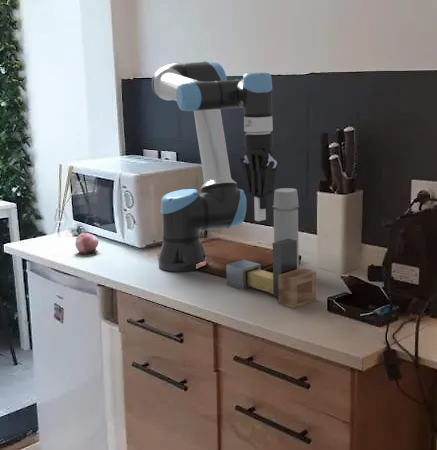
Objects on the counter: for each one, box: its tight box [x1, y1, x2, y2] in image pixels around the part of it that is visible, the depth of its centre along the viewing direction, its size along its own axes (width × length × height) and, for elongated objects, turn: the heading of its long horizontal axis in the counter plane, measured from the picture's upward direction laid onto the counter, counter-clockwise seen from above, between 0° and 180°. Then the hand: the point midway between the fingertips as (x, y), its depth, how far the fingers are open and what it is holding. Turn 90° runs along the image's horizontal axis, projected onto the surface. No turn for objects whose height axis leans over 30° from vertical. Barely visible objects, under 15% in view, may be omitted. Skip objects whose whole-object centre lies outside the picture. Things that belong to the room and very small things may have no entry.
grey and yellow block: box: [245, 239, 297, 298], centre depth 194 cm, size 21×6×14 cm, turn 40°
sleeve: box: [225, 259, 262, 291], centre depth 204 cm, size 7×7×6 cm
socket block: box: [278, 267, 318, 309], centre depth 188 cm, size 5×9×8 cm, turn 130°
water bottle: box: [271, 187, 300, 269], centre depth 212 cm, size 9×8×25 cm
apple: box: [74, 232, 99, 255], centre depth 244 cm, size 8×8×7 cm
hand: (260, 219), depth 194 cm, fingers closed
